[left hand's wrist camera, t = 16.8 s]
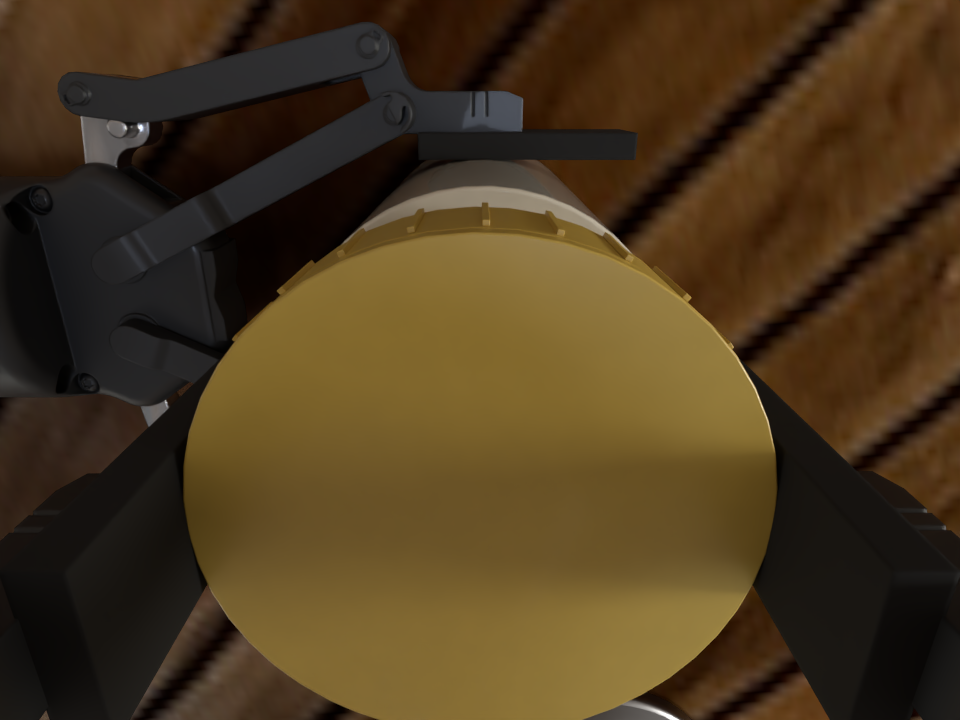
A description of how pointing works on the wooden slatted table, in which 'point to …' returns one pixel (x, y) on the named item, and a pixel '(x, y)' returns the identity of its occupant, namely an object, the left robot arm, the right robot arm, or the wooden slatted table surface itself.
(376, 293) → the lid
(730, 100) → the wooden slatted table surface
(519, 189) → the jar
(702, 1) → the wooden slatted table surface
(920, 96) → the wooden slatted table surface
